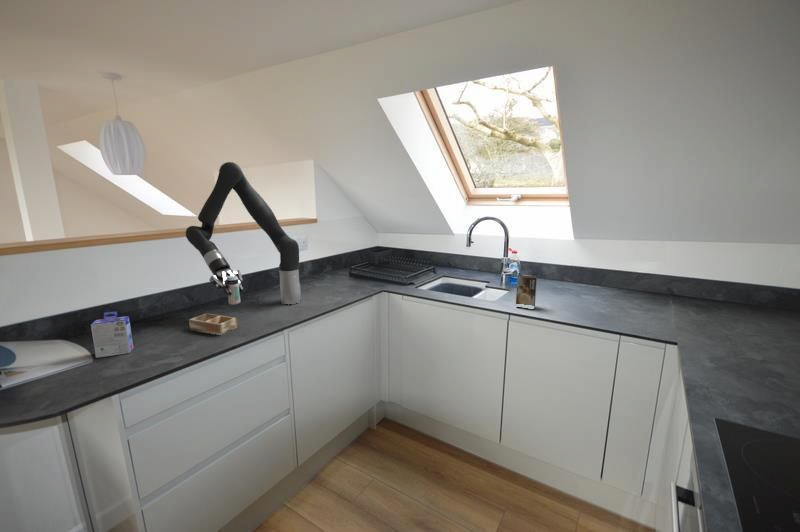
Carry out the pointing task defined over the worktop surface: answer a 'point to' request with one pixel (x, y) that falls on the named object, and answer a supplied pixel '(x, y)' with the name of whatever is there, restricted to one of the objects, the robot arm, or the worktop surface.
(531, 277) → the coffee box
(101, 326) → the ink cartridge box
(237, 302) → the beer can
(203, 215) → the robot arm
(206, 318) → the can rack
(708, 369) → the worktop surface
